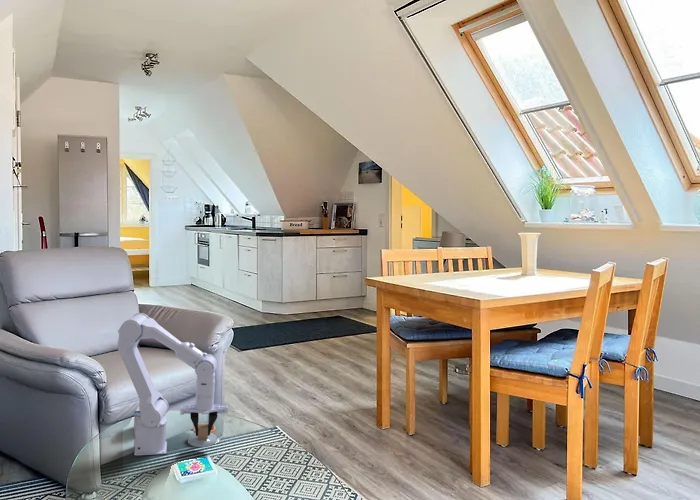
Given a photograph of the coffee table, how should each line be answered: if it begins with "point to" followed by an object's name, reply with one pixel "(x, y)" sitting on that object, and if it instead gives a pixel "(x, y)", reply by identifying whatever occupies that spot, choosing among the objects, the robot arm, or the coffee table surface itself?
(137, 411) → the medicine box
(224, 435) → the coffee table surface
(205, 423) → the bowl
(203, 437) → the lid
